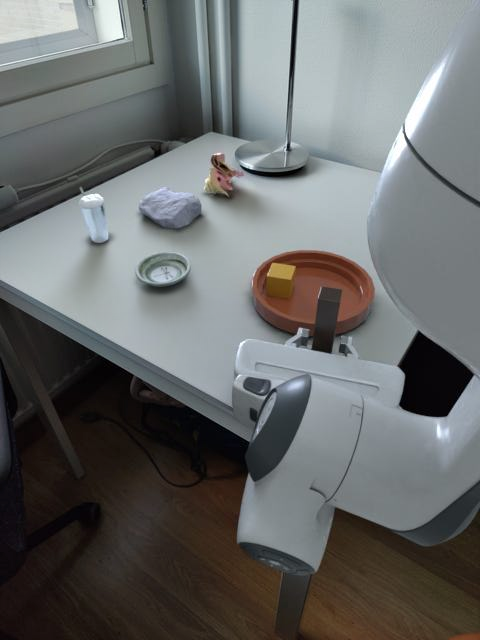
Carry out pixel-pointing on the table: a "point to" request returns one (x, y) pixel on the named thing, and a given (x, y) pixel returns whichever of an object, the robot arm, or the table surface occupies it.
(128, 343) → the table surface
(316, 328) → the dark brown tall block
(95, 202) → the milkshake
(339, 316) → the bowl
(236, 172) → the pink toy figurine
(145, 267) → the saucer
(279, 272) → the block
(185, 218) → the stone block
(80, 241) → the table surface
